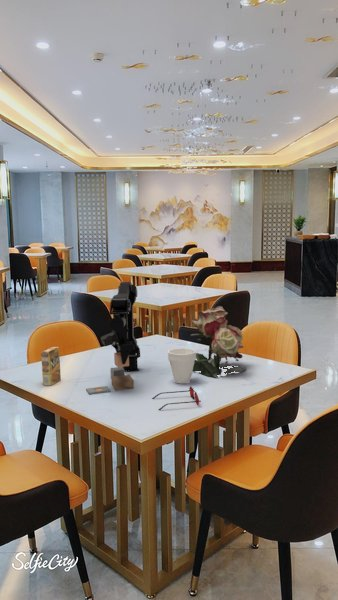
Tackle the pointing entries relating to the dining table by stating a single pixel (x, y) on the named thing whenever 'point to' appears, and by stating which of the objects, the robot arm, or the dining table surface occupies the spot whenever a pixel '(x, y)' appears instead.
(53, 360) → the candy box
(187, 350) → the cup
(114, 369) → the charcoal block
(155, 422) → the dining table surface
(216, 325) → the rose bouquet
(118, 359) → the terracotta block
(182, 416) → the dining table surface
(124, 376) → the walnut block
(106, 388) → the card
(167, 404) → the glasses
